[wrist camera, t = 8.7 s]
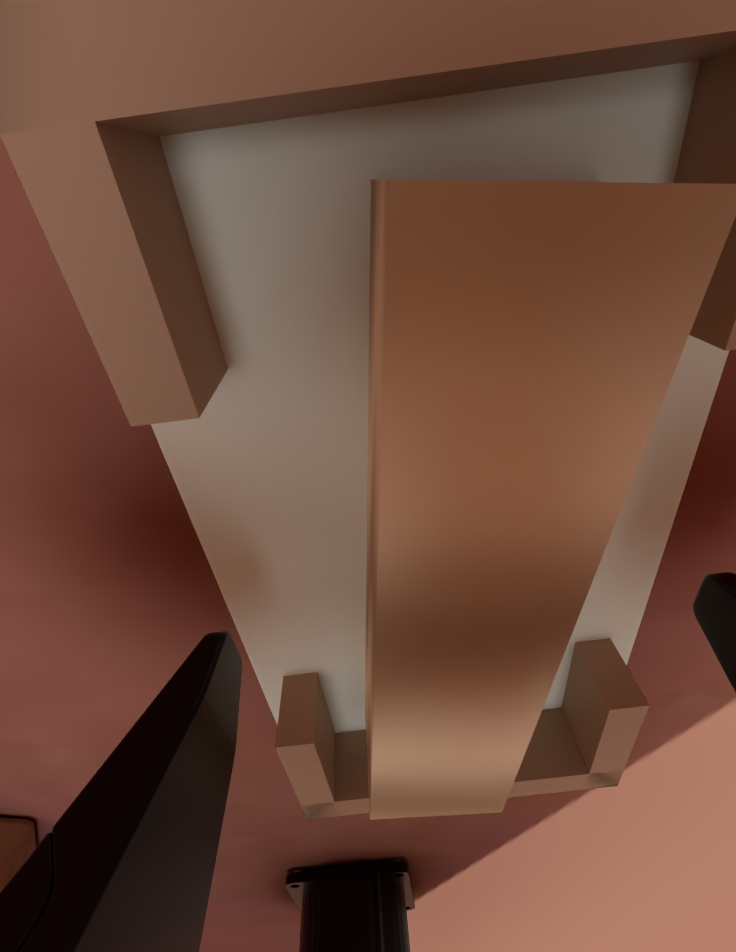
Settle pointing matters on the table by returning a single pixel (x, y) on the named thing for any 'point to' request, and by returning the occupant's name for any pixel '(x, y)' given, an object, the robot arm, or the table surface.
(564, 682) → the slat board
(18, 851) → the wooden block
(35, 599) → the table surface
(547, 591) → the slat
